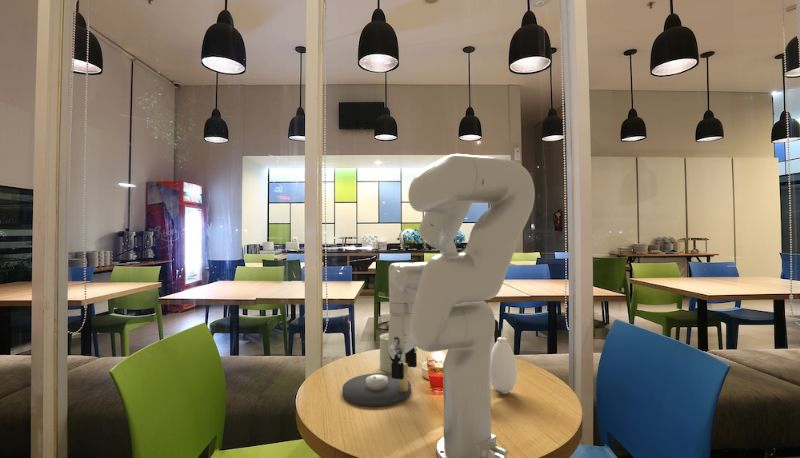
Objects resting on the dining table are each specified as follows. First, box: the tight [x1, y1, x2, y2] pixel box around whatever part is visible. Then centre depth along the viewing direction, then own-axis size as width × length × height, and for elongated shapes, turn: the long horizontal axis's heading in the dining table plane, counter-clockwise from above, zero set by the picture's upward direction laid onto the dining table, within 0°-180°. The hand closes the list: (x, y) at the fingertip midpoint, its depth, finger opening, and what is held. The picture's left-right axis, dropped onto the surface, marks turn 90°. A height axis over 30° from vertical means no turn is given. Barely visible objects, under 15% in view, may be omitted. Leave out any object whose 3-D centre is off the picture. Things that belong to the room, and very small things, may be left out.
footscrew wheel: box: [342, 363, 412, 408], centre depth 103 cm, size 19×19×8 cm
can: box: [379, 332, 405, 373], centre depth 122 cm, size 9×9×12 cm
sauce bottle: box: [490, 329, 518, 395], centre depth 105 cm, size 8×8×18 cm
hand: (404, 372), depth 99 cm, fingers open, 9 cm apart
